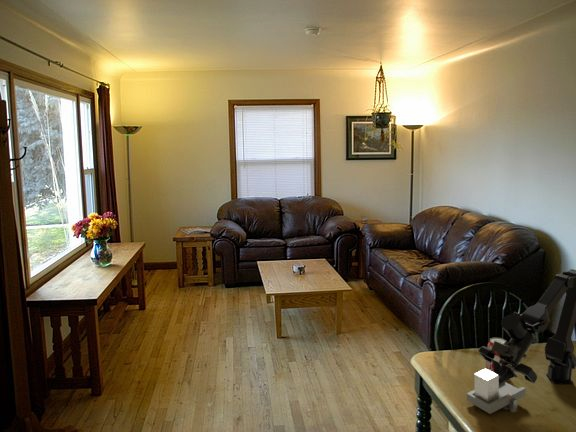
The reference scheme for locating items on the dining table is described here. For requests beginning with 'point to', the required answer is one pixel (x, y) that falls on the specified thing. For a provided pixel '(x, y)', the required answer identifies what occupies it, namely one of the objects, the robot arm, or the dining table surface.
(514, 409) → the fulcrum
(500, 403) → the grey tray
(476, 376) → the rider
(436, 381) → the dining table surface
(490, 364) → the soda can
